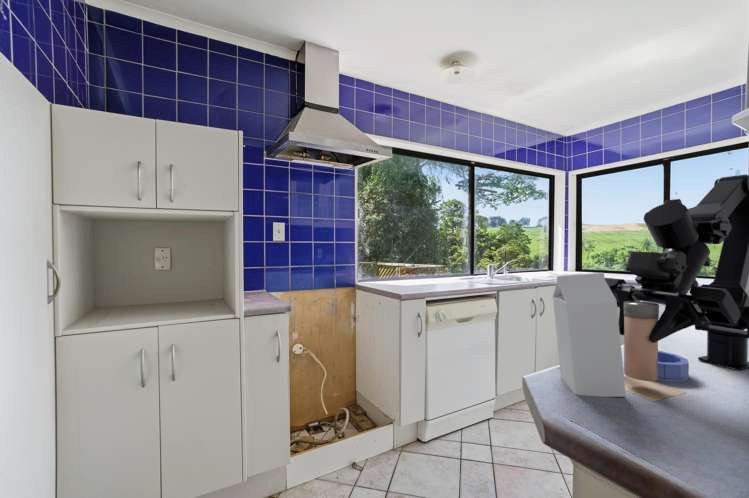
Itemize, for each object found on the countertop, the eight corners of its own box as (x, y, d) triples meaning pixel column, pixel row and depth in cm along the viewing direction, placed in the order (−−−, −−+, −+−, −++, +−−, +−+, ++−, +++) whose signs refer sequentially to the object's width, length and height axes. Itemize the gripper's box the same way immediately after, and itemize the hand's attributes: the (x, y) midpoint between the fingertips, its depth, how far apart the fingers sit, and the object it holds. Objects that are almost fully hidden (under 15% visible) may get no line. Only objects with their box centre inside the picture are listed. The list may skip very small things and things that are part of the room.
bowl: (644, 363, 69) (644, 346, 69) (699, 380, 61) (699, 360, 61) (613, 369, 66) (614, 351, 66) (668, 388, 58) (668, 367, 57)
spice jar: (634, 369, 59) (635, 300, 59) (665, 378, 55) (665, 304, 55) (616, 372, 58) (617, 302, 58) (646, 383, 53) (647, 306, 53)
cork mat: (632, 378, 62) (632, 374, 62) (685, 396, 54) (685, 392, 54) (601, 384, 59) (601, 381, 59) (653, 405, 52) (653, 401, 51)
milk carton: (626, 397, 52) (614, 274, 53) (575, 398, 54) (564, 278, 54) (605, 379, 59) (594, 271, 59) (560, 380, 61) (550, 274, 61)
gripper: (602, 235, 66) (560, 296, 62) (730, 233, 49) (682, 316, 45) (629, 274, 69) (590, 334, 65) (759, 285, 52) (716, 367, 48)
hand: (635, 337), depth 56 cm, fingers closed on spice jar, 4 cm apart
